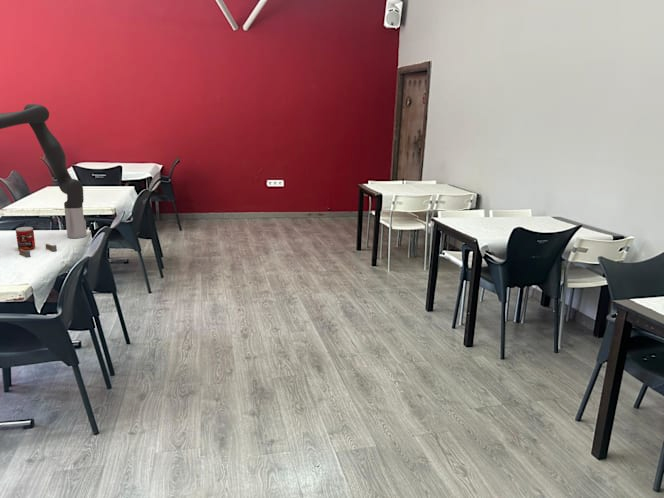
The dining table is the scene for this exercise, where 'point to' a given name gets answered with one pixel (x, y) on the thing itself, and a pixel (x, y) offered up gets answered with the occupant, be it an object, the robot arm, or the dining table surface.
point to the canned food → (25, 238)
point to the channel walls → (22, 252)
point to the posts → (27, 253)
